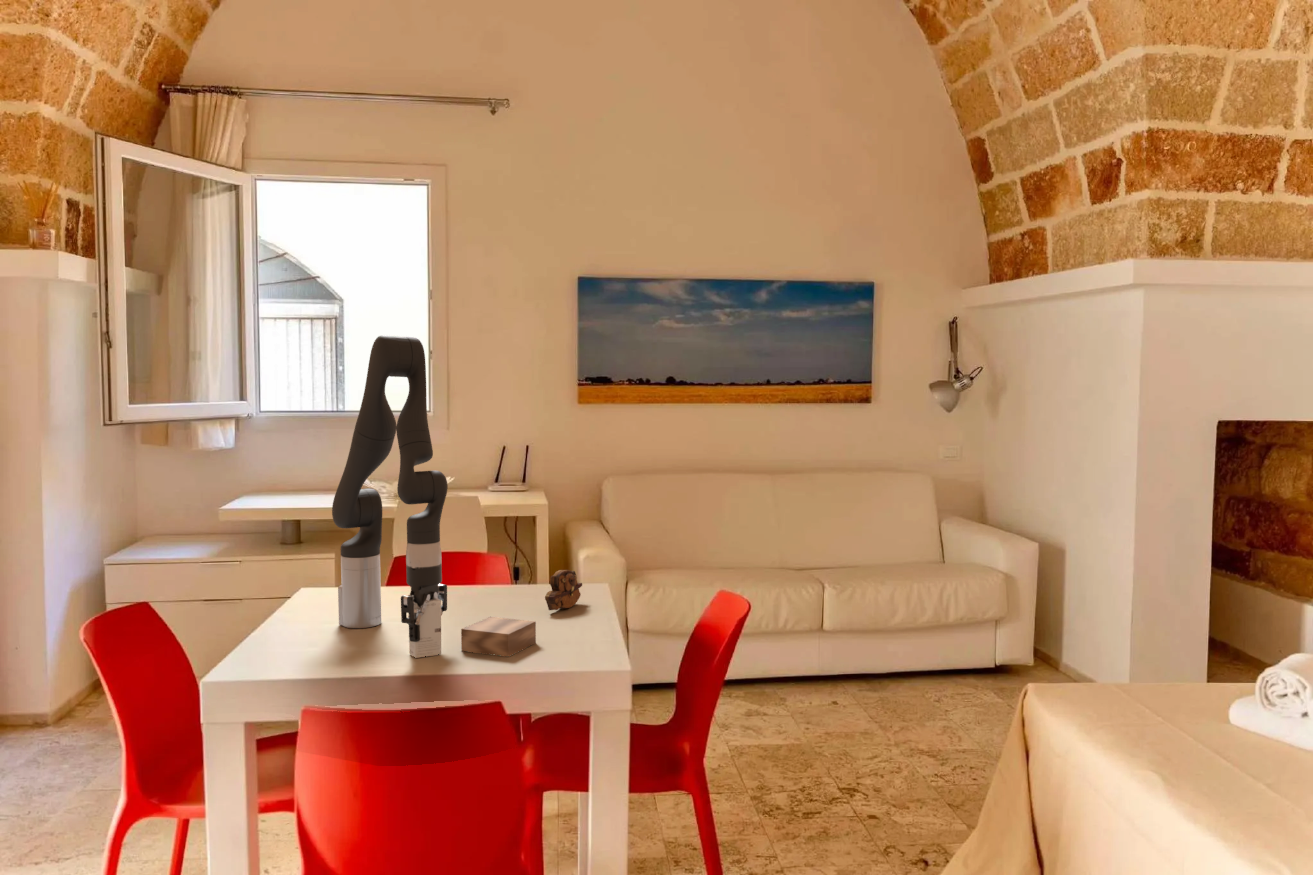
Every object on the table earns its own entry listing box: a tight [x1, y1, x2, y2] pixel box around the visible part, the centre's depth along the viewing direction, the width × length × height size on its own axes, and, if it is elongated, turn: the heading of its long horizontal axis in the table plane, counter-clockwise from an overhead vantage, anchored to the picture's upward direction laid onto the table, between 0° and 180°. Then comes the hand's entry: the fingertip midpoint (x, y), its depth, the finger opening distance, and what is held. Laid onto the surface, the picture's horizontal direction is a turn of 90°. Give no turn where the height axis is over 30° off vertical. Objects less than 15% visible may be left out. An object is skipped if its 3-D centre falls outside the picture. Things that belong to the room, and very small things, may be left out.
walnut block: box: [460, 616, 537, 657], centre depth 225 cm, size 12×12×5 cm
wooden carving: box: [544, 569, 583, 611], centre depth 262 cm, size 16×5×10 cm, turn 161°
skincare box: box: [408, 599, 442, 659], centre depth 219 cm, size 6×4×12 cm
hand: (425, 636), depth 219 cm, fingers closed on skincare box, 7 cm apart
